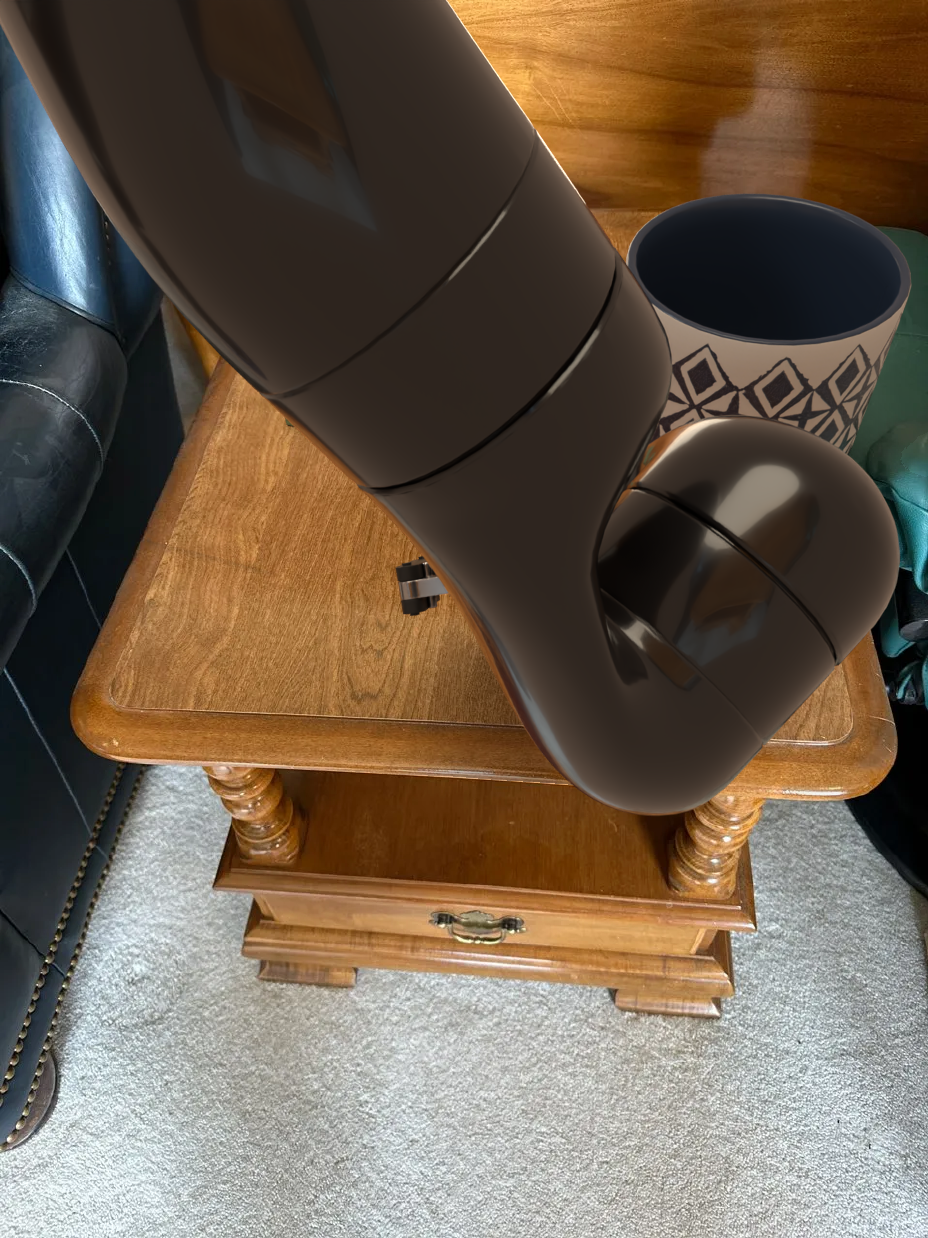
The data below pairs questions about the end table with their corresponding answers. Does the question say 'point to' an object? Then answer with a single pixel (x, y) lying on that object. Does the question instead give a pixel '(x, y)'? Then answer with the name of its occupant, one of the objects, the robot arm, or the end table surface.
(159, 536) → the end table surface
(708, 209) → the planter
